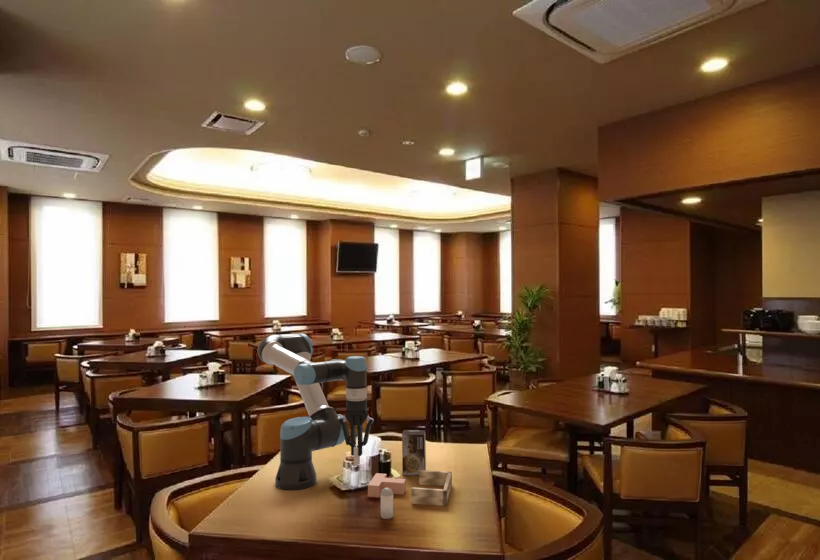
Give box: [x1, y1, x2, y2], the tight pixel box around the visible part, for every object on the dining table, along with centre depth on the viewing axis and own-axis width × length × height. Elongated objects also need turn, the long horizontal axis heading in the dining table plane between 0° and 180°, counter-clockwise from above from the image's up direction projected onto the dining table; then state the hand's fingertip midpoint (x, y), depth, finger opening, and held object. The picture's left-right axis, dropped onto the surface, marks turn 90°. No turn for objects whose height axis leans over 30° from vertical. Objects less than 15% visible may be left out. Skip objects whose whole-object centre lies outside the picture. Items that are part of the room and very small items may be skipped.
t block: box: [367, 472, 407, 498], centre depth 181 cm, size 12×12×4 cm
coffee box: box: [401, 429, 427, 476], centre depth 199 cm, size 9×6×16 cm
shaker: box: [380, 488, 394, 520], centre depth 160 cm, size 4×4×9 cm
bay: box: [410, 469, 453, 507], centre depth 178 cm, size 12×18×5 cm, turn 170°
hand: (356, 464), depth 183 cm, fingers closed
